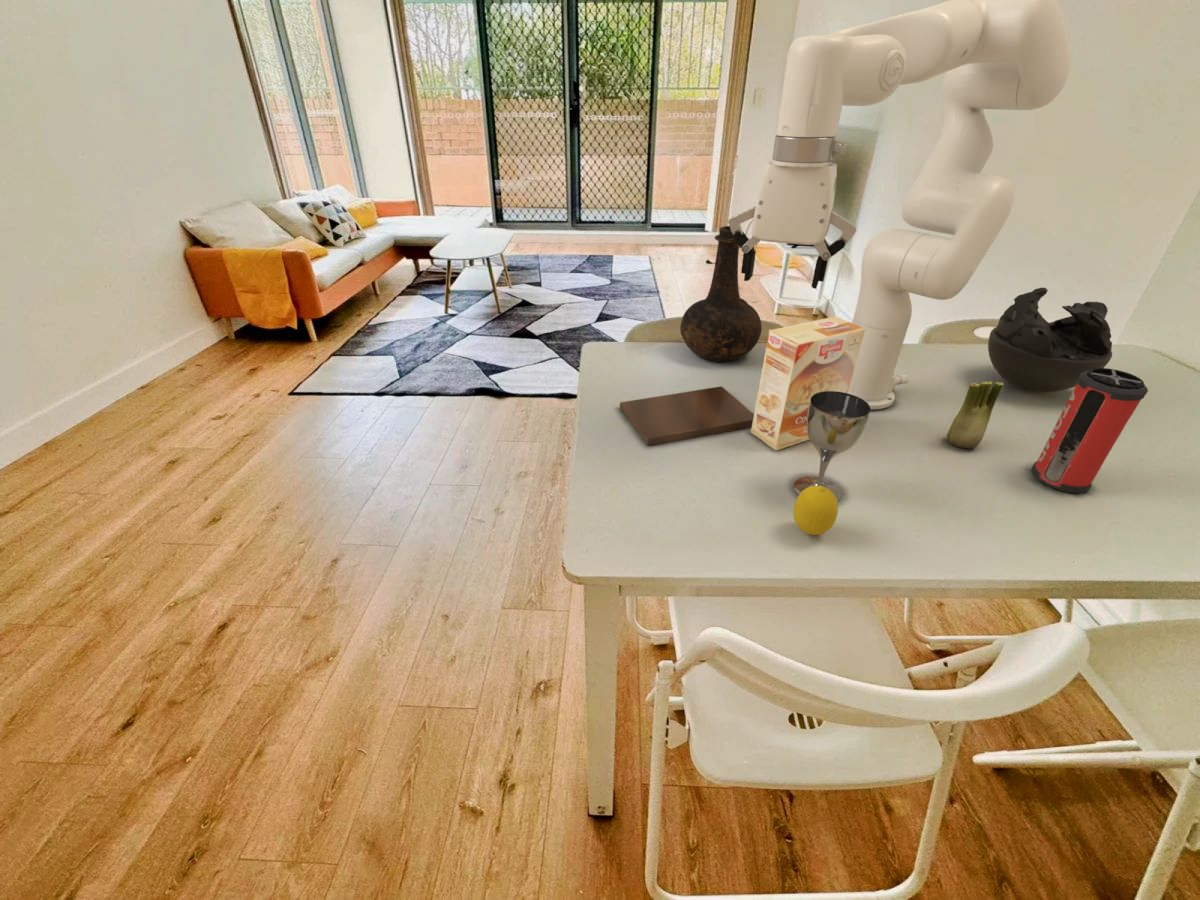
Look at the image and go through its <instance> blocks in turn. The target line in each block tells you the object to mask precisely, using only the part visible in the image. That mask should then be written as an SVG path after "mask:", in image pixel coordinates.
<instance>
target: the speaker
mask: <svg viewBox="0 0 1200 900" xmlns="http://www.w3.org/2000/svg"><path fill="white" fill-rule="evenodd" d="M1148 392H1149V389H1148V387H1147V386H1146V384H1145V382H1144V380H1143V379H1142V378H1140V377H1138V376H1136V375H1134V374H1132V373H1129V372H1126V371H1123V370H1118V369H1113V368H1106V367H1104V368H1094V369H1091V370H1089V371H1086V372H1083V373H1081V374H1080V375H1079V377H1078V379H1077V384H1076V386H1075V387H1073V390H1072V392H1071V394H1070V396H1069V398H1068V400H1067V402H1066V404H1065V406H1064V408H1063V410H1062V411H1061V414H1060V416H1059V418H1058V420H1057V421H1056V423H1055V425H1054V426H1053V429H1052V431H1051V432H1050V435H1049V437H1048V439H1047V440H1046V442H1045V445H1044V447H1043V448H1042V450H1041V452H1040V454H1039V456H1038V458H1037V461H1035V462H1034V463H1033V465H1032V467H1031V473H1032V475H1033V476H1034V478H1035V479H1036V480H1037V481H1038V482H1040V483H1041V484H1043V485H1046V486H1048V487H1051V488H1052V489H1054V490H1056V491H1059V492H1063V493H1076V494H1077V493H1078V494H1080V493H1085V492H1088V491H1090V490H1091V488H1092V483H1093V481H1094V479H1095V478H1096V476H1097V474H1099V471H1100V470H1101V468H1102V466H1103V464H1104V462H1105V460H1106V459H1107V457H1108V455H1109V454H1110V453H1111V450H1112V449H1113V447H1114V446H1115V443H1116V442H1117V440H1118V439H1119V437H1120V435H1121V433H1122V432H1123V431H1124V428H1125V427H1126V425H1127V423H1128V422H1129V420H1130V419H1131V417H1132V416H1133V414H1134V412H1135V411H1136V409H1137V407H1138V406H1139V404H1140V402H1141V401H1142V400H1143V399H1144V398H1145V396H1146V395H1147V394H1148Z"/></svg>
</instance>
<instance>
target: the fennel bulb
mask: <svg viewBox="0 0 1200 900" xmlns="http://www.w3.org/2000/svg"><path fill="white" fill-rule="evenodd" d="M992 385H993V386H992ZM1003 387H1004V383H1003V382H998V381H997V382H996V381H995V382H994V384H993V381H983V382H980V383H973V382H972V383H970V384H969V386H968V389H967V392H966V395H965V398H964V400H963V404H962V406H961V407H960V409H959V411H958V413H957V414H956V415H955V417H954V418H953V420H952V423H951V425H950V427H949V429H948V431H947V434H946V439H947V441H948V442H949V444H950V445H952V446H955V447H959V448H962V449H973V448H976V447H977V446H979V444H980V443H981V441H982V440H983V439H984V436H985V433H986V431H987V428H988V425H989V422H990V418H991V416H992V411H993V409H994V407H995V404H996V402H997V400H998V397H999V395H1000V393H1001V391H1002V389H1003Z"/></svg>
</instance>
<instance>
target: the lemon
mask: <svg viewBox="0 0 1200 900" xmlns="http://www.w3.org/2000/svg"><path fill="white" fill-rule="evenodd" d="M838 513H839V504H838V502H837V499H836V497H835V495H834V494H833V493H832V492H831V491H830V490H829V489H827V488H825V487H823V486H811V487H808V488H806V489H804V490H803V491H802V492H801V493H800V495H798V496H797V498H796V500H795V502H794V505H793V511H792V514H793V520H794V524H796V526H797V527H798V528H799V529H800V530H801V531H802V532H804V533H806V534H808V535H813V536H818V535H822V534H825V533H827V532H828V531H830V529H831V528H832V527H833V526H834V525H835V523H836V520H837V517H838Z"/></svg>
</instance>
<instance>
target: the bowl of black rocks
mask: <svg viewBox="0 0 1200 900" xmlns="http://www.w3.org/2000/svg"><path fill="white" fill-rule="evenodd" d="M1048 291H1049V289H1047V287H1038V288H1035V289H1033V290H1032V291H1029V292H1025V293H1022V294H1018V295H1017V296H1016V297H1015V298H1013V301H1014V303H1013V304H1011V305H1009V307H1008V308H1007V309H1005V310H1004V312H1003V314H1002V315H1001V316H999V320H998V323H997V325H996V327H994V328H993V329H992V330H991V331H990V333H989V337H988V342H987V350H988V357H989V360H990V362H991V364H992V365H991V366H992V367H993V368H994V370H995V372H997V374H998V375H999V376H1000V377H1001V378H1002V379H1003V380H1005V381H1006V382H1007V383H1009V384H1011V385H1013V386H1015V387H1017V388H1018V389H1019V388H1020V389H1022V390H1025V391H1030V392H1035V393H1056V392H1061V391H1066V390H1069V389H1072V388H1073V389H1074V388H1075V386H1076V384H1077V379H1078V377H1079V375H1080V374H1081V373H1083V372H1086V371H1089V370H1091V369H1094V368H1106V366H1107V365H1108V364H1109V362H1110V361H1111V359H1112V357H1113V351H1112V349H1113V348H1112V346H1113V342H1112V340H1111V338H1112V333H1111V328H1110V325H1109V323H1108V321H1107V320H1106V316H1107V315H1108V312H1109V311H1108V307H1107V305H1106V303H1104V302H1101V301H1085V302H1083V303H1081V302H1074V303H1073V304H1072V305H1062V307H1061V308H1062V309H1064V310H1065V311H1066V312H1067V313H1069V314H1070V315H1069V316H1066V317H1063V318H1059V319H1056V320H1054V321H1051V322H1049V321H1047V320H1046V319H1045V318H1044V317H1043V315H1042V314H1041V313H1040V311H1039V302H1040V300H1041V299H1042V298H1043V297H1044V296H1045V295H1046V294H1047V293H1048Z"/></svg>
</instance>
